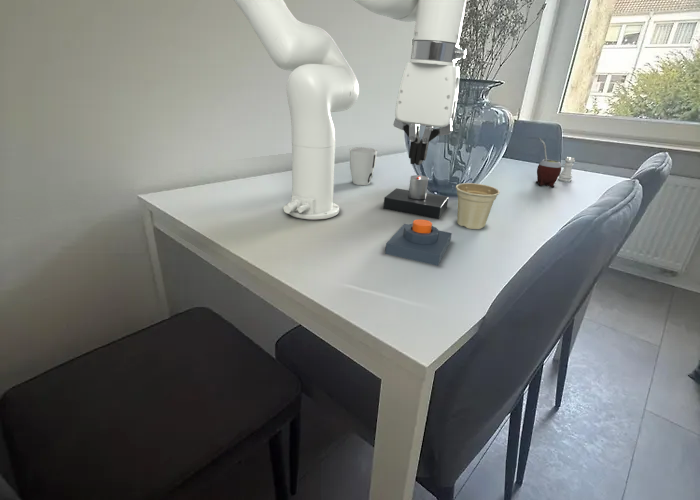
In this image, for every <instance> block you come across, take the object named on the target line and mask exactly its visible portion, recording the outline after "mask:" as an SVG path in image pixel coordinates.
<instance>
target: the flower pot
mask: <svg viewBox="0 0 700 500" xmlns="http://www.w3.org/2000/svg"><path fill="white" fill-rule="evenodd" d="M455 190H456V195H457V219H456V223H457V225H459V226H460V227H464V228H466V229H469V230H481V229H483V228H485V227H486V224H487V221H488V219H489V216H490V213H491V210H492V207H493V205H494V201H496V199H497V197H498V196H499V195H500V193H501V191H500V189H498V188H496V187H494V186H491V185H487V184H482V183H473V182H464V183H458V184H456V185H455Z"/></svg>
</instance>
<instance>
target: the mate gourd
mask: <svg viewBox="0 0 700 500" xmlns="http://www.w3.org/2000/svg"><path fill="white" fill-rule="evenodd" d="M538 140H540V142H541V143H542V145H543V151H544V159H542V160H541V161H540V162H539V164H538V165H537V168H536V177H537V179H536V181H535V184H538V186H539V187H544V186H546V187H550V188H555V184H556V182H557V180H558V178H559V175H560V174H561V172H562V163H561V161H559V160H555V159H549V158H548V155H547V144H546V143H545V142H544V140H543V139H542V138H541V137H538Z"/></svg>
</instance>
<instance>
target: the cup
mask: <svg viewBox="0 0 700 500" xmlns="http://www.w3.org/2000/svg"><path fill="white" fill-rule="evenodd" d="M377 155H378V150H377V149H375V148H371V147H362V146H361V147H360V146H359V147H357V146H355V147H351V148H349V168H350V176H351V180H352V183H353V185H357V186H368V185H370V183H371V181H372V178H373V176H374V171H375V167H376V162H377Z"/></svg>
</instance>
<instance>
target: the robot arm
mask: <svg viewBox="0 0 700 500" xmlns="http://www.w3.org/2000/svg"><path fill="white" fill-rule="evenodd" d="M233 1H234V2H235V4H236V5H237V7H238V8H239V10H240V12H242V14H243V15H244V17H245V18H246V20H247V21H248V23H249V24H250V26H251V27H252V29H253V31H254V33H255V35H256V36H257V38H258V39H259V41H260V42H261V45H262V46H263V48H264V49H265V51H266V52H267V54H268V55H269V58H270V59H271V60H272V62H273V63H274V64H275V66H277V67H278V68H279V69H281V70H282V71H283V70H284V71H287V72H288V71H289V72H290V74H289V76H288V78H287V82H286V98H287V102H288V103H287V104H288V107H289V113H290V123H291V124H290V125H291V178H292V179H291V194H292V195H291V200H290V201H288V203H286V204H285V205H284V206H283V207H282V208H283V212H284V213H286V214H288V215H289V216H291V217H294V218H297V219H302V220H313V221H314V220H326V219H331V218H333V217H336V216H337V215H338V214H339V213H340V206H339V205H338V204H337V203H335V202H334V184H335V183H334V182H335V160H336V159H335V158H336V157H335V156H336V130H335V125H334V122H333V119H332V115H331V113H338V112H345V111H348V110H350V109H351V108H353V106H354V105H355V104H356V103H357V101H358V98H359V94H360V86H359V82H358V78H357V75H356V74H355V72H354V70H353V68H352V67H351V65H350V64H349V62H348V61H347V59H346V58H345V56H344V54H343V52H342V51H341V50H340V49H341V48H340V47H339V45H338V44H337V42H336V41H335V40H334V39H333V37H332V36H331V34H330V33H328V32H327V31H326V30H325V29H324V28H322V27H320V26H318V25H314V24H310V23H305V22H303V21H300V20H298V19H297V18H296V17H295V16H294V15H293V13H292V12H291V10H290V9H289V8H288V6H287V3H286V2H285V0H233ZM353 1H354V2H355V3H357V4H358V5H360V6H361V7H363V8H364V9H366V10H368V11H369V12H372V13H373V14H376V15H379V16H384V17H387V18H390V19H392V20H396V21H399V22H405V23H406V22H407V23H409V22H414V23H415V24H414V32H413V37H412V38H413V39H412V47H411V54H410V60H409V61H407V62H406V63H405V65H404V69H403V72H402V76H401V78H400V79H401V80H400V84H399V88H398V92H397V97H396V103H395V110H394V116H395V118H394V121H393V124H392V125H393V127H394V128H397V129H398V130H401V131H403V132H404V133H405V135H406V136H407V137H408V140H409V142H410V145H409V153H408V158H409V159H410V165H416V166H420V165H422V164H423V162H424V161H426V160H427V155H428V150H429V144H430V142H431V141H433V140H434V139H435V138H436V137H440V136H448V135H451V134H452V133H453V123H454V120H455V117H456V111H457V103H458V96H459V86H460V66H457V65H456V63H457V61H458V60H460V59H461V60H462V59H463V60H464V59H465V58H466V55H467V49H462V48H461V47H460V45H459V44H460V38H461V34H462V27H463V21H464V16H465V11H466V6H467V0H353ZM420 126H424V127H425V128H424V131H423V134H422V138H421V137H420Z"/></svg>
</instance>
